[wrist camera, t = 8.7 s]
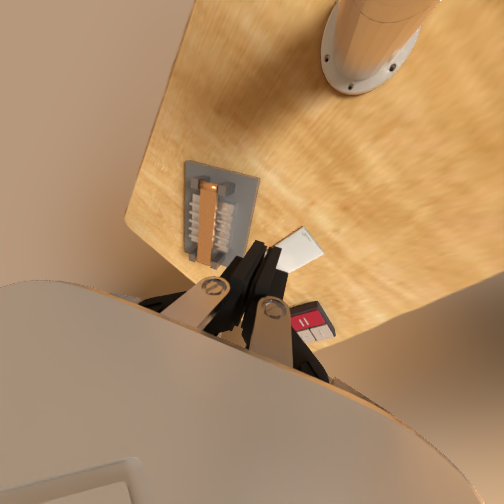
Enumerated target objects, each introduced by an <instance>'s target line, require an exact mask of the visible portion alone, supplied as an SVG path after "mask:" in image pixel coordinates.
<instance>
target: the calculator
mask: <svg viewBox="0 0 504 504" xmlns="http://www.w3.org/2000/svg"><path fill="white" fill-rule="evenodd" d="M290 316H291V325H292V327H293V328H294V329H295V331H296V332H297V333H298V335H299V336H300V337H301V339H302V340H303V341H304V343H305V344H306V343H310V342H315V341H320V340H324V339H329V338H333V337H335V336H336V334H335V329H334V327H333V325H332V324H331V322H330V320H329V319H328V317H327V315H326V314H325V312H324V310H323V309H322V307H321V305H320V304H319V302H318V301H314V302H311V303H307V304H303V305H300V306H296V307H293V308H290Z"/></svg>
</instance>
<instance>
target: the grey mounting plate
mask: <svg viewBox="0 0 504 504" xmlns="http://www.w3.org/2000/svg"><path fill="white" fill-rule="evenodd" d="M202 175H205V176H209V177H210V183H213V184H217V185H220V184H223V183H226V182H232V183H235V192H234V193H233V194H231V195H229V196H226V197H222V196H218V198H222V199H225V200H229V201H232V202H236V203H238V206H237V213H236V219H235V225H234V232H233V238H232V245H231V249H230V250H229V251H228V252H224V251H221V250H218V249H215V248H213V252H212V260H213V259H214V258H215V257H216V255H217V254H218V253H219V252H223V253H226V255H225V260H224V261H223V262H222V264H221V265H224V266H227V267H228V266H229V264H230V263H231V262H232V261H233V259H234V258H235V257H236V256H240V257H243V258H244V256H245V252H246V247H247V242H248V237H249V232H250V227H251V222H252V217H253V212H254V207H255V202H256V197H257V193H258V188H259V183H260V178H258V177H254V176H250V175H246V174H242V173H238V172H234V171H230V170H226V169H222V168H218V167H214V166H210V165H207V164H203V163H199V162H195V161H191V160H189V161H185V252H186V253H190V252H192V251H193V250H194V249H196V248H197V247H198V243H197V242H194V241H191V237H189V234H190V233H192V230H190V229H189V227H190V226H191V225H192V222H189V219H190V218H192V214H190V213H189V211H190V210H192V205H189V203H190V202H192V201H193V193H197V192H200V189H198V190H197V189H193V188H191V177H197V176H202Z"/></svg>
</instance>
